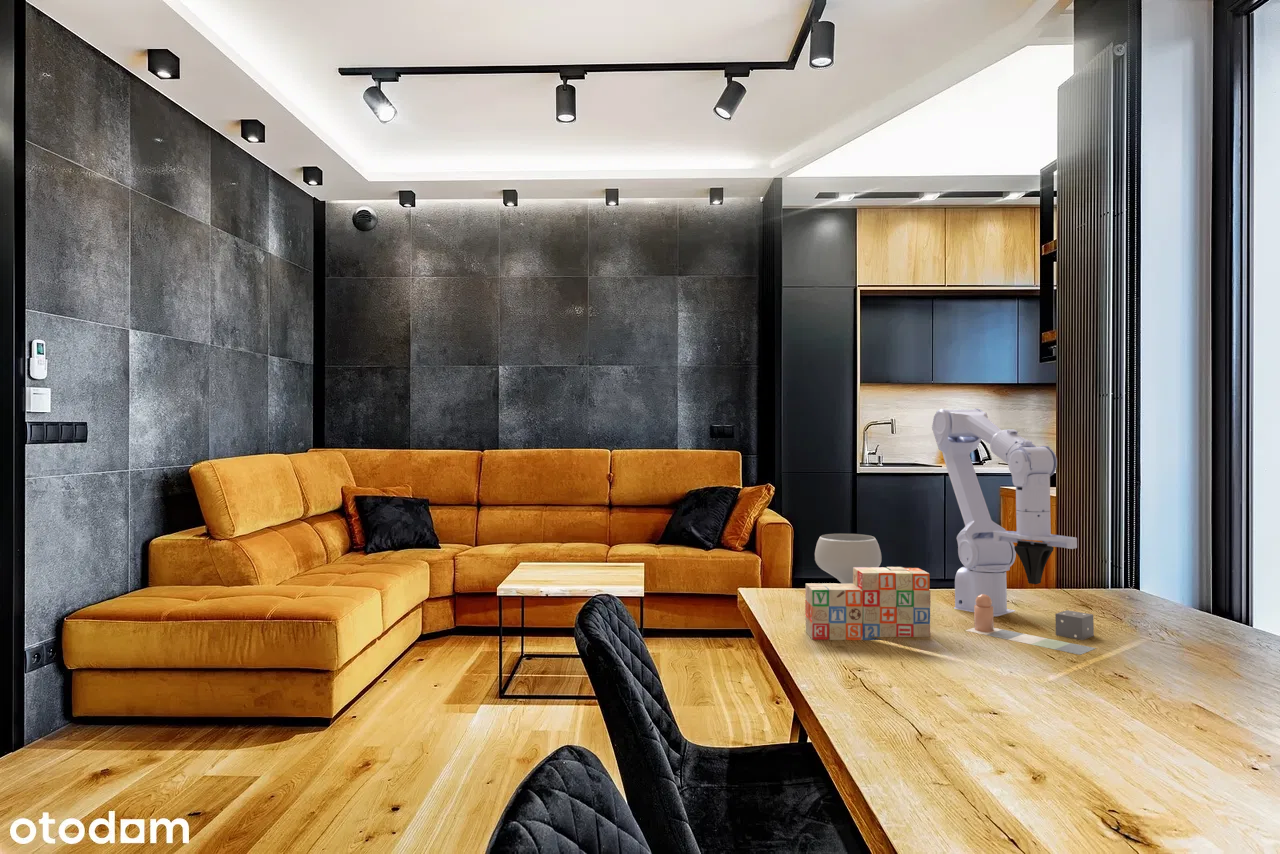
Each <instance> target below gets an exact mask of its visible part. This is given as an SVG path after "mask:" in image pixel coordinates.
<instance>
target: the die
mask: <svg viewBox="0 0 1280 854" xmlns="http://www.w3.org/2000/svg"><path fill="white" fill-rule="evenodd" d="M1054 615H1055V636H1059V637H1064V638H1069V639H1074V640H1080V641H1084V640H1087V639H1090V638H1091V637H1094V634H1095V632H1094V631H1095V630H1094V627H1095V626H1094V613H1093V614H1092V613H1086V612H1080V611H1075V610H1069V609H1068V610H1067V609H1066V610H1062V611H1060V612H1055V614H1054Z"/></svg>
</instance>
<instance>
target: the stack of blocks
mask: <svg viewBox="0 0 1280 854" xmlns="http://www.w3.org/2000/svg"><path fill="white" fill-rule="evenodd" d="M930 582H931V581H930V573H929V572H927V571H925V570H923V569H921V568H919V567H903V566H886V567H883V566H882V567H880V566H879V567H870V568H868V567H853V583H852V584H849V583H848V584H841V583H834V582H833V583H831V582H829V583H827V582H826V583H825V582H824V583H823V582H822V583H820V582H818V583H815V582H814V583H812V582H811V583H805V602H804V603H805V606H804V609H805V610H804V611H805V631H806V633H807V634H808V636H809V638H810V639H811V640H815V641H817V640H822V641H823V640H825V641H826V640H827V641H828V640H830V641H845V640H846V641H883V639H881V637H883V638H886V637H887V638H888V637H889V638H898V637H900V638H903V637H904V638H906V637H907V638H931V590H930V586H931V585H930Z"/></svg>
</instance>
